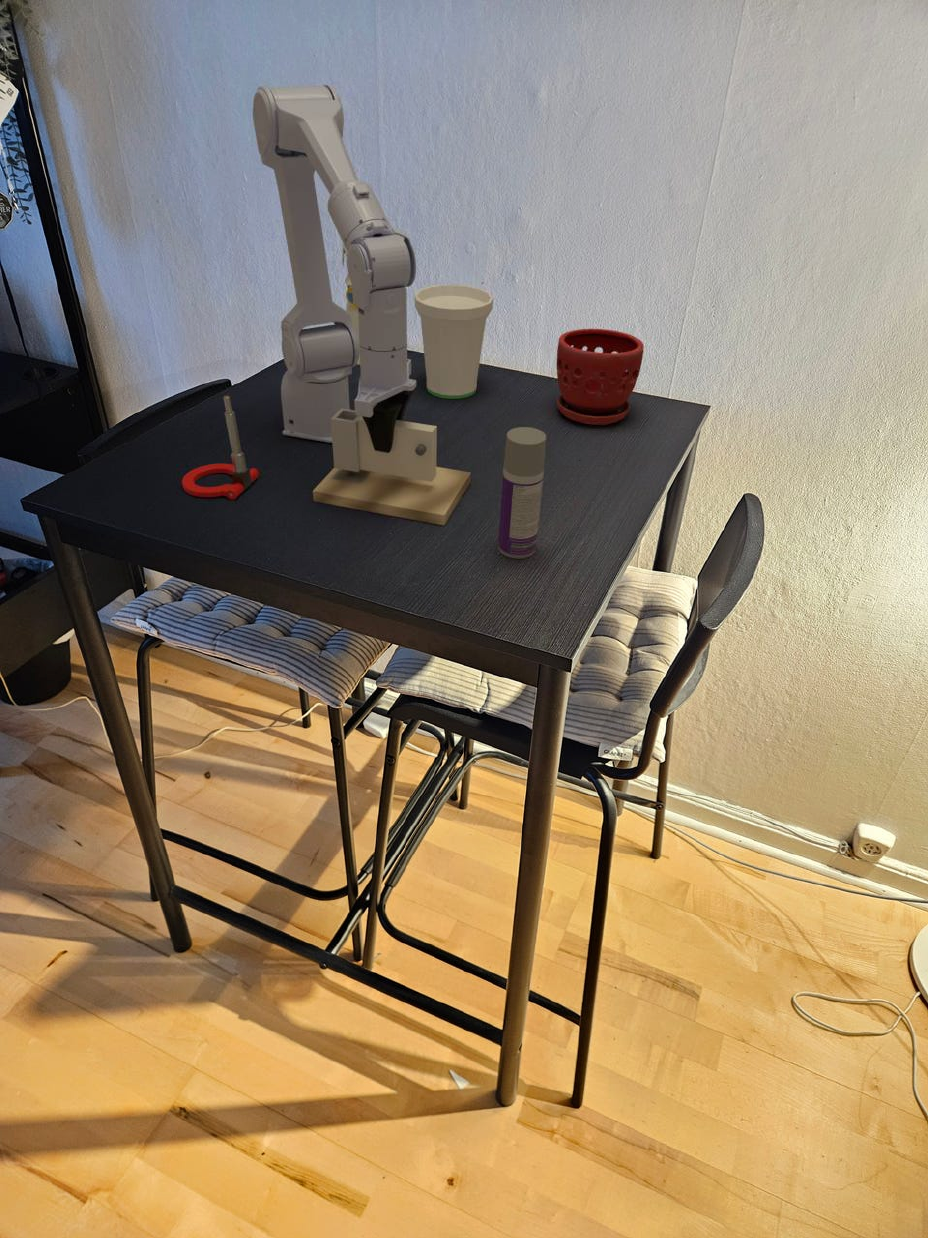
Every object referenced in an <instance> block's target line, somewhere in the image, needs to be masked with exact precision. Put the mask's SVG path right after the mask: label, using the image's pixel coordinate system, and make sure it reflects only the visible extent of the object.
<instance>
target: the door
mask: <svg viewBox="0 0 928 1238" xmlns="http://www.w3.org/2000/svg"><path fill="white" fill-rule="evenodd" d="M331 429H332V443H331V444H332V454H333V455H332V456H333V468H337V469H343V470H349V471H354V472H359V470H360V469H361V470H366V471H372V472H378V473H384V474H390V475H395V476H401V477H407V478H413V479H418V480H424V481H430V482H432V481H433V480H434V478H435V477H436V467H437V451H438V450H437V443H438V442H437V439H438V438H437V436H438V434H437V433H438V432H437V431H438V430H437V429H438V427H437V425H430V424H425V423H418V422H411V421H407V420H406V421H405V420H402V421H400V420H396V423H395V428H394V437H393V444H392V448H391V451H390V452H389V453H385V452H380V451H375V450H374V447H373V444H372V441H371V437H370V434H369V431H368V428H367V425H366V423H365V421H364V419H363V417H362V416H359V415H355V409H354V410H353V409H350V410H349V409H342V408H341V409H340V410H339V411H338V412H337V413H336V414H335V415H334V416H333V417H332V418H331Z"/></svg>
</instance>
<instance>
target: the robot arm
mask: <svg viewBox="0 0 928 1238" xmlns="http://www.w3.org/2000/svg"><path fill="white" fill-rule="evenodd" d="M252 105H253V107H252V120H253V125H254V126H253V127H254V131H255V138H256V145H257V149H258V153H259V156H260V159H261V163H262V164H263V165H265V166H266V167H268V168H270V169H272V170H273V171H274V177H275V181H276V184H277V191H278V197H279V201H280V207H281V208H280V209H281V214H282V219H283V220H282V221H283V227H284V233H285V238H286V243H287V250H288V255H289V256H288V257H289V261H290V262H289V263H290V266H291V274H292V279H293V285H294V291H295V297H296V304H295V305H294V306H293V307H292V309H291V310H290V311H288V313H287V314H286V315H285V316H284V317H283V319H281V320H282V321H281V322H280V323H281V325H280V329H281V339H282V340H281V351H282V356H283V360H284V364H285V366H286V368H287V370H286V372H285V373H284V374H283V376H282V380H281V386H280V396H281V407H282V417H283V428H284V430H283V431H282V435H283V436H287V437H288V436H289V437H294V438H295V437H296V438H300V439H306V440H310V441H311V440H312V441H319V442H325V443H329V444H333V443H332V429H331V418H332V417H333V416H334V415H335V414H336V413H337V412H338V411H339V410H340V409H341V408H342V409H349V410H351V408H350V395H349V391H350V390H349V379H348V378H349V376H350V375H352V374H353V371H352V368H355V367H356V366H357V365H358V364H357V361H358V359H359V354H360V365H359V366H360V376H359V378H358V389H357V396H356V398H355V399H354V400H353V401H354V410H355V415H359V416H362V417H363V419H364V421H365V423H366V425H367V428H368V431H369V434H370V437H371V441H372V444H373V447H374V450H375V451H380V452H385V453H389V452H390V451H391V448H392V444H393V437H394V428H395V423H396V420H400V421H404V420H403V419H404V416H405V413H406V409H407V407H408V404H409V402H410V400H411V398H412V396H413V394H414V390H415V388H416V387H417V380H416V379H411V378H410V376H411V375H412V359H411V358H410V359H408V329H407V328H408V324H407V323H408V320H407V318H408V315H407V314H408V313H407V312H408V309H407V305H408V304H407V302H408V301H407V288H406V287H408V288H409V287H411V286H412V285H413V284H414V282H415V280H416V279H415V278H416V273H417V259H416V254H415V250H414V248H413V247H414V246H413V244H412V243H411V240H410V237H409V236H408V235H407V234H406V233H405V232H403V231H399V229H398V227H396V226H394V227H393V226H391V224H390V222H389V220H388V219H387V216H386V214H385V212H384V210H383V209H382V205H380V203H379V201H378V198H377V196H376V194H375V192H374V190H373V188H372V186H370V184H369V183H368V182H365V181H363V180H358V177H357V175H356V172H355V169H354V166H353V164H352V162H351V159H350V155H349V153H348V151H347V149H346V146H345V143H344V140H343V137H344V136H343V135H344V126H345V125H344V124H345V115H344V107H343V103H342V100H341V97H340V95H339V93H338V92H337V91H336V89H335V88H334V87H333V85H331V84H324V85H320V86H317V85H316V86H315V85H314V86H281V87H280V86H279V87H277V86H276V87H267V86H266V85H265V86H263V85H261V86H259V87H258V88H257V90H256V92H255V94H254V97H253V104H252ZM315 173H317V174H318V177H319V178H320V180H321V181H322V183H323V185H324V186H325V188H326V190H327V191H328V193H329V196H328V197H329V198H328V201H327V212H328V215H329V216H330V218H331V221H332V222H333V225H334V227H335V228H336V231H337V233H338V236H339V237H340V239H341V241H342V244H343V243H344V245H345V248H346V250H347V252H348V256H346V269H347V275H348V274H349V278H350V281H351V285H352V292H353V299H354V303H355V304H356V305H357V306H358V323H359V342H358V338H357V335H356V333H355V330H354V326H353V322H352V318H351V315H350V314H349V313H348V312H347V311H346V309H345V308H343V307H341V306H340V305H339V304H338V303H335V302H334V301H333V295H332V289H331V283H330V282H331V281H330V274H329V268H328V263H327V262H328V261H327V256H326V255H327V254H326V249H325V242H324V236H323V229H322V222H321V215H320V210H319V209H320V208H319V201H318V195H317V189H316V184H315V183H316V182H315ZM330 323H333V324H330ZM324 324H326V325H324ZM327 324H328V325H327ZM318 325H322V326H318ZM310 326H314V327H310ZM315 326H316V327H315ZM307 327H309V328H307ZM359 346H360V349H359Z"/></svg>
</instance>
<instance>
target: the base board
mask: <svg viewBox="0 0 928 1238" xmlns="http://www.w3.org/2000/svg"><path fill="white" fill-rule="evenodd" d="M471 475H472V473H471V472H468V471H464V470H458V469H451V468H447V467H446V468H445V467H442V466H441V467H440V466H436V477H435V478H434V480H433V481H432V482H430V481H424V480H418V479H413V478H407V477H401V476H395V475H390V474H384V473H378V472H372V471H366V470H361V469H360V470H359V472H354V471H349V470H343V469H337V468H334V467H333V468H332V469H331V470H330V472H329V473H328V474H327V475H326V476H325V477H324V478H323V479H322V480H321V481H320V482H319V484H318V485H317V486H316V487H315V488H314V489H313V491H312V498H313V502H316V503H321V504H326V505H332V506H338V507H344V508H348V509H353V510H358V511H359V510H360V511H364V512H370V513H375V514H381V515H386V516H391V517H396V518H402V519H407V520H412V521H418V522H424V523H429V524H434V525H439V526H446V523H447V522H448V520H449V519H450V517H451V515H452V514H453V513H454V510H455V508H456V507H457V505H458V504H459V502H460V500H461V499H462V497H463V495H464V494H465V492H466V491H467V488H468V487H469V486H470V483H471V480H472V479H471Z"/></svg>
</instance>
